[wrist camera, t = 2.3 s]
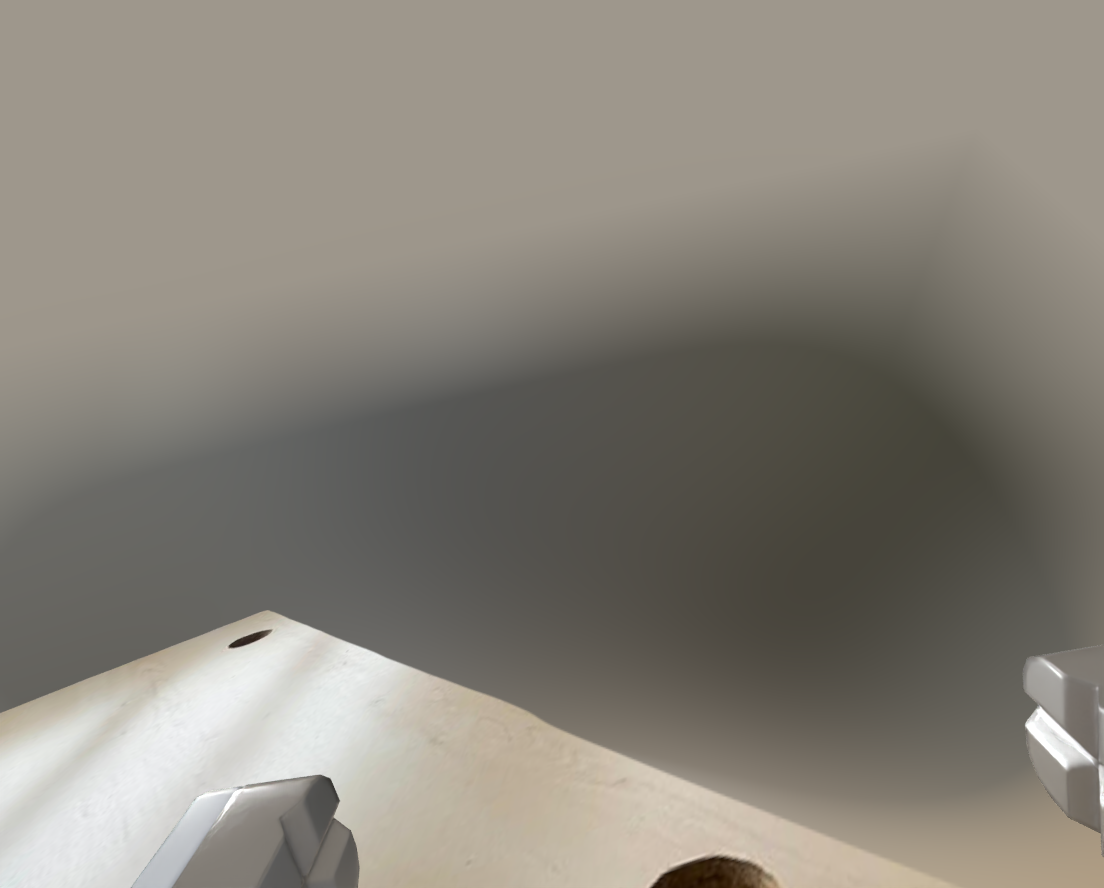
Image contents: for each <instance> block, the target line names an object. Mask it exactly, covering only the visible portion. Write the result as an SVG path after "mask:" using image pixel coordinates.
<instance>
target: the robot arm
mask: <svg viewBox="0 0 1104 888" xmlns="http://www.w3.org/2000/svg"><path fill="white" fill-rule="evenodd" d="M1023 690H1024V691H1025V692H1026V693H1027V694H1028V695H1029V696H1030V697H1031V698H1032V699H1033V700H1034V701H1035V702H1036V703H1037V704H1038V707H1037V708H1036V709H1035V711H1034V712H1033V714H1032V715H1031V717H1030V718H1029V720H1028V721H1027V723H1026V724H1025V728H1026V738H1027V749H1028V753H1029V755H1030V758H1031V760H1032V763H1033V766H1034V768H1035V770H1036V773H1037V776H1038V778H1039V780H1040V781H1041V783H1042V784H1043V786H1044V787H1045V789H1046V790H1047V792H1048V794H1049V795H1050V797H1051V798H1052V799H1053V800H1054V802H1055V803H1056V804H1057V805H1058V806H1059V807H1060V809H1061V810H1062V811H1063V812H1064V813H1065V814H1066V815H1067V817H1069V818H1070V819H1072V820H1074V821H1076V822H1078V823H1080V824H1083V825H1084V826H1086V827H1088V828H1090V829H1092V830H1094V831H1097V832H1099V833H1101V850H1102V856H1103V857H1104V645H1098V646H1092V647H1086V648H1080V649H1075V650H1069V651H1063V652H1057V653H1051V654H1046V655H1040V656H1034V657H1028V658H1027V661H1026V663H1025V666H1024V668H1023ZM339 802H340V800H339V798H338V795H337V793H336V790H335V788H334V786H333V783H332V781H331V779H330V778H327V777H325V776H322V775H314V776H307V777H300V778H293V779H286V780H279V781H271V782H264V783H257V784H250V785H246V786H244V787H233V788H226V789H220V790H213V791H208V792H206V793H205V794H203V795H201V796H199V797H197V798H195V800H194V801H193V803H192V804H191V805H190V807H189V808H188V809H187V811H186V812H185V814H184V815H183V816H182V818H181V819H180V820H179V822H178V823H177V825H176V826H175V827H174V829H173V830H172V831H171V833H170V834H169V836H168V837H167V838H166V840H165V841H164V843H163V844H162V845H161V847H160V848H159V849H158V851H157V852H156V854H155V855H154V856H153V858H152V859H151V860H150V862H149V863H148V865H147V866H146V867H145V869H144V870H143V871H142V873H141V874H140V876H139V877H138V878H137V880H136V881H135V882H134V884H133V885H132V887H131V888H358V879H359V869H360V868H359V860H358V853H357V847H356V844H355V841H354V838H353V835H352V832H351V830H349V829H348V828H347V827H345V826H344V825H343V824H341V823H340V822H339V821H337V820H336V819H335V818H333V817H334V814H335V812H336V809H337V807H338V804H339Z"/></svg>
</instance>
